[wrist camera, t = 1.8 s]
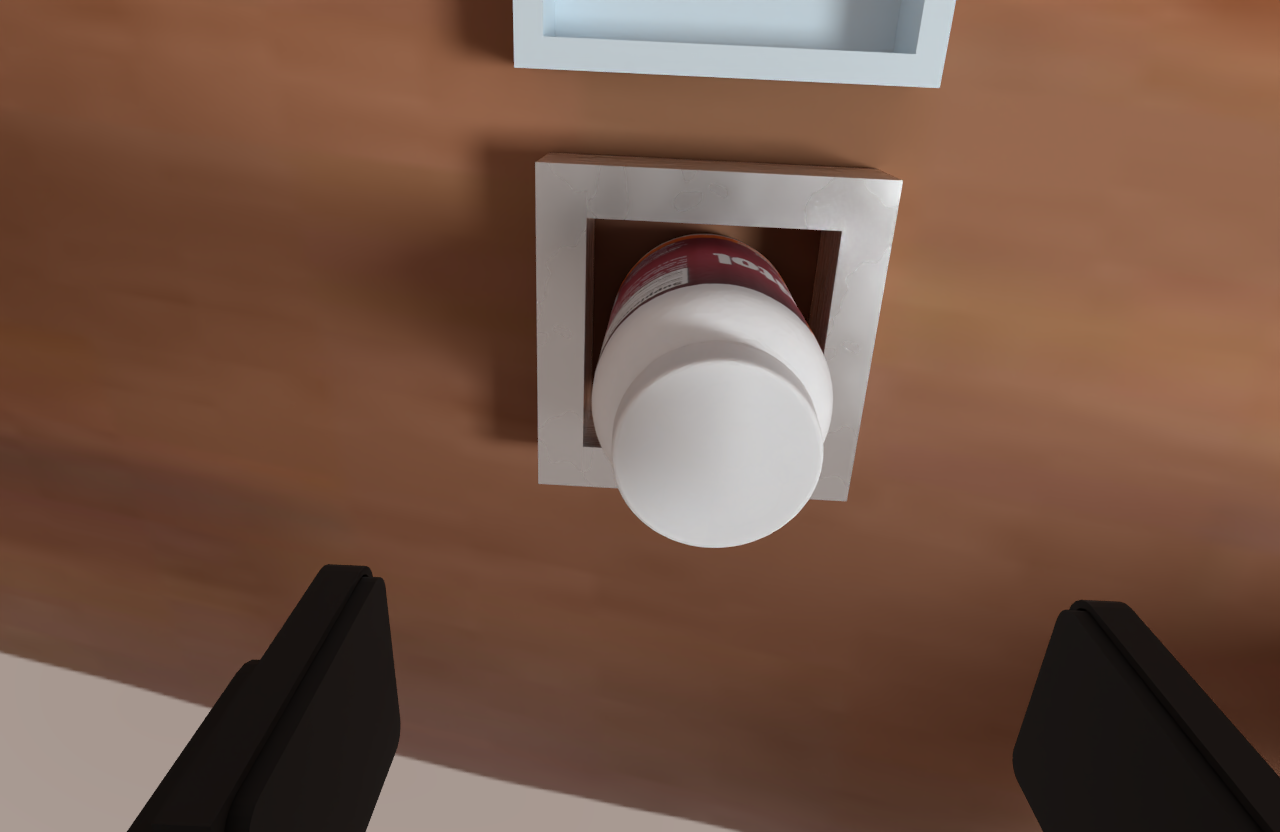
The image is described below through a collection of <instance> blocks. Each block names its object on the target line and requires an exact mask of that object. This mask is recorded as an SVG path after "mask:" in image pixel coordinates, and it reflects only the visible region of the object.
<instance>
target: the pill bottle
mask: <svg viewBox="0 0 1280 832" xmlns="http://www.w3.org/2000/svg"><path fill="white" fill-rule="evenodd" d="M832 409H833V387H832V381H831V376H830V371H829V368H828V365H827V362H826V359H825V357H824V355H823V352H822V350H821V348H820V346H819V344H818V342H817V340H816V338H815V336H814V334H813V332H812V331H811V329H810V328H809V326H808V324H807V322H806V320H805V319H804V317H803V315H802V313H801V312H800V310H799V309H798V307H797V305H796V303H795V301H794V300H793V298H792V296H791V294H790V292H789V290H788V288H787V286H786V284H785V283H784V281H783V279H782V277H781V276H780V274H779V273H778V271H777V270H776V269H775V268H774V266H773V265H772V264H771V263H770V262H769V260H767V259H766V258H765V257H764V256H763V255H762V254H761V253H759V252H758V251H756V250H755V249H753V248H752V247H750V246H748V245H747V244H745V243H743V242H741V241H738V240H736V239H733V238H730V237H727V236H723V235H716V234H691V235H685V236H681V237H677V238H674V239H672V240H669V241H667V242H665V243H662V244H660V245H659V246H657V247H655V248H654V249H652V250H651V251H649V252H648V253H647V254H645V255H644V256H643V257H642V258H641V259H640V260H639V261H638V262H637V263H636V264H635V265H634V266H633V267H632V269H631V270H630V271H629V273H628V274H627V276H626V277H625V279H624V280H623V282H622V284H621V286H620V288H619V290H618V293H617V295H616V298H615V301H614V305H613V308H612V312H611V316H610V320H609V324H608V327H607V331H606V334H605V338H604V342H603V346H602V349H601V353H600V357H599V360H598V364H597V367H596V371H595V375H594V380H593V388H592V415H593V422H594V426H595V431H596V434H597V437H598V440H599V442H600V445H601V447H602V449H603V451H604V453H605V455H606V457H607V458H608V460H609V461H610V463H611V465H612V469H613V474H614V478H615V481H616V484H617V487H618V489H619V491H620V493H621V495H622V497H623V499H624V500H625V502H626V504H627V505H628V507H629V508H630V509H631V510H632V512H633V513H634V514H635V515H636V516H637V517H638V518H639V519H640V520H641V521H642V522H643V523H645V524H646V525H647V526H648V527H650V528H651V529H653V530H654V531H656V532H657V533H659V534H661V535H663V536H665V537H667V538H669V539H671V540H674V541H677V542H680V543H683V544H687V545H691V546H697V547H707V548H723V547H733V546H738V545H743V544H746V543H750V542H753V541H756V540H758V539H761V538H763V537H765V536H767V535H769V534H771V533H773V532H775V531H776V530H778V529H780V528H781V527H782V526H784V525H785V524H786V523H788V522H789V521H790V520H791V519H792V518H794V517H795V516H796V515H797V514H798V513H799V511H800V510H801V509H802V508H803V507H804V505H805V504H806V503H807V501H808V500H809V498H810V497H811V495H812V493H813V491H814V489H815V487H816V485H817V482H818V480H819V477H820V473H821V469H822V463H823V443H824V441H825V438H826V436H827V433H828V430H829V426H830V422H831V417H832Z"/></svg>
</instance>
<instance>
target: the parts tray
mask: <svg viewBox="0 0 1280 832" xmlns="http://www.w3.org/2000/svg"><path fill="white" fill-rule="evenodd" d="M955 3H956V0H513V33H514V67H516V68H537V69H557V70H578V71H598V72H619V73H640V74H660V75H681V76H702V77H722V78H743V79H764V80H784V81H805V82H825V83H846V84H867V85H887V86H908V87H929V88H940V84H941V78H942V73H943V68H944V62H945V57H946V51H947V46H948V41H949V35H950V30H951V24H952V19H953V14H954V8H955Z"/></svg>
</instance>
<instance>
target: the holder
mask: <svg viewBox="0 0 1280 832" xmlns="http://www.w3.org/2000/svg"><path fill="white" fill-rule="evenodd" d="M902 183H903V180H901V179H898V178H896V177H894V176H892V175H890V174H887V173H885V172H883V171H881V170H879V169H871V168H851V167H831V166H811V165H791V164H771V163H751V162H731V161H711V160H691V159H672V158H652V157H632V156H612V155H592V154H572V153H552V152H550V153H548V154H547V155H545V156H544V157H542V158H541V159H539V160H538V161H536V162H535V197H536V295H537V393H538V484H552V485H570V486H587V487H605V488H618V487H617V484H616V481H615V478H614V474H613V469H612V465H611V463H610V461H609V460H608V458H607V457H606V455H605V453H604V451H603V449H602V447H601V445H600V442H599V440H598V437H597V434H596V431H595V426H594V422H593V415H592V411H591V403H592V354H593V306H594V257H595V218H597V219H616V220H636V221H655V222H675V223H694V224H714V225H733V226H752V227H772V228H791V229H811V230H821V237H820V245H819V252H818V259H817V266H816V274H815V281H814V288H813V295H812V303H811V310H810V317H809V324H808V326H809V328H810V329H811V331H812V332H813V334H814V336H815V338H816V340H817V342H818V344H819V346H820V348H821V350H822V352H823V355H824V357H825V359H826V362H827V365H828V368H829V371H830V376H831V381H832V387H833V409H832V417H831V422H830V426H829V430H828V433H827V436H826V438H825V441H824V443H823V463H822V469H821V473H820V477H819V480H818V482H817V485H816V487H815V489H814V491H813V493H812V495H811V497H810V498H809V499H815V500H833V501H847V497H848V491H849V485H850V480H851V474H852V468H853V462H854V457H855V451H856V445H857V440H858V434H859V428H860V423H861V417H862V411H863V405H864V400H865V394H866V388H867V383H868V377H869V371H870V366H871V360H872V354H873V348H874V343H875V337H876V331H877V326H878V320H879V314H880V309H881V303H882V297H883V291H884V286H885V280H886V274H887V269H888V263H889V257H890V252H891V246H892V240H893V234H894V229H895V223H896V217H897V212H898V206H899V200H900V195H901V189H902Z"/></svg>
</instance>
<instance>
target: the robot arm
mask: <svg viewBox="0 0 1280 832" xmlns="http://www.w3.org/2000/svg"><path fill="white" fill-rule="evenodd" d="M399 736H400V713H399V705H398V696H397V687H396V678H395V669H394V660H393V651H392V642H391V633H390V624H389V615H388V606H387V597H386V588H385V583H384V580H383V579H382V578H381V577H373V576H372V572H371V570H370V568H369V567H367V566H353V565H332V564H328V565H325V566H323V568H322V569H321V570H320V571H319V573H318V574H317V576H316V577H315V579H314V580H313V582H312V583H311V585H310V586H309V588H308V589H307V591H306V592H305V594H304V595H303V597H302V598H301V600H300V601H299V603H298V604H297V606H296V607H295V609H294V610H293V612H292V613H291V615H290V616H289V618H288V619H287V621H286V622H285V624H284V625H283V627H282V628H281V630H280V631H279V633H278V634H277V636H276V637H275V639H274V640H273V642H272V643H271V645H270V646H269V648H268V649H267V651H266V652H265V654H264V655H263V657H262V658H261V660H251V661H249V662H247V663H245V664H244V665H243V666H242V667H241V669H240V670H239V671H238V672H237V673H236V675H235V676H234V677H233V679H232V680H231V682H230V683H229V685H228V686H227V688H226V689H225V690H224V692H223V693H222V695H221V696H220V698H219V699H218V701H217V702H216V704H215V705H214V706H213V708H212V709H211V711H210V712H209V714H208V715H207V717H206V718H205V720H204V721H203V722H202V724H201V725H200V727H199V728H198V730H197V731H196V733H195V734H194V735H193V737H192V738H191V740H190V741H189V743H188V744H187V746H186V747H185V748H184V750H183V751H182V753H181V754H180V756H179V757H178V759H177V760H176V761H175V763H174V765H173V766H172V767H171V769H170V770H169V772H168V773H167V775H166V776H165V777H164V779H163V780H162V782H161V783H160V785H159V786H158V788H157V789H156V791H155V792H154V793H153V795H152V797H151V798H150V799H149V801H148V802H147V803H146V805H145V807H144V808H143V809H142V811H141V812H140V814H139V815H138V817H137V818H136V819H135V821H134V822H133V824H132V825H131V827H130V828H129V830H128V831H127V832H366V829H367V826H368V824H369V821H370V818H371V816H372V813H373V810H374V808H375V805H376V803H377V800H378V797H379V795H380V792H381V789H382V787H383V784H384V781H385V779H386V776H387V774H388V771H389V768H390V766H391V763H392V760H393V757H394V755H395V752H396V749H397V746H398V742H399ZM1013 768H1014V772H1015V776H1016V778H1017V781H1018V783H1019V785H1020V787H1021V789H1022V791H1023V793H1024V795H1025V797H1026V799H1027V801H1028V803H1029V805H1030V806H1031V808H1032V810H1033V812H1034V814H1035V816H1036V818H1037V820H1038V822H1039V824H1040V826H1041V828H1042V830H1043V832H1280V777H1279V776H1278V775H1277V774H1276V773H1275V772H1274V770H1273V769H1272V768H1271V767H1270V766H1269V765H1268V764H1267V762H1266V761H1265V760H1264V759H1263V758H1262V757H1261V756H1260V754H1259V753H1258V752H1257V751H1256V750H1255V749H1254V748H1253V746H1252V745H1251V744H1250V743H1249V742H1248V741H1247V740H1246V739H1245V737H1244V736H1243V735H1242V734H1241V733H1240V732H1239V731H1238V729H1237V728H1236V727H1235V726H1234V725H1233V724H1232V723H1231V721H1230V720H1229V719H1228V718H1227V717H1226V716H1225V715H1224V713H1223V712H1222V711H1221V710H1220V709H1219V708H1218V707H1217V705H1216V704H1215V703H1214V702H1213V701H1212V700H1211V699H1210V698H1209V696H1208V695H1207V694H1206V693H1205V692H1204V691H1203V690H1202V688H1201V687H1200V686H1199V685H1198V684H1197V683H1196V682H1195V680H1194V679H1193V678H1192V677H1191V676H1190V675H1189V674H1188V672H1187V671H1186V670H1185V669H1184V668H1183V667H1182V666H1181V664H1180V663H1179V662H1178V661H1177V660H1176V659H1175V658H1174V657H1173V655H1172V654H1171V653H1170V652H1169V651H1168V650H1167V649H1166V647H1165V646H1164V645H1163V644H1162V643H1161V642H1160V641H1159V639H1158V638H1157V637H1156V636H1155V635H1154V634H1153V633H1152V631H1151V630H1150V629H1149V628H1148V627H1147V626H1146V625H1145V623H1144V622H1143V621H1142V620H1141V619H1140V618H1139V617H1138V616H1137V614H1136V613H1135V612H1134V611H1133V610H1132V609H1131V608H1130V607H1129V606H1128V605H1127V604H1125V603H1122V602H1114V601H1093V600H1079V601H1075V602H1074V603H1073V604H1072V605H1071V607H1070V609H1069V610H1064V611H1062V612H1061V613H1060V614H1059V616H1058V618H1057V621H1056V624H1055V627H1054V630H1053V633H1052V636H1051V639H1050V642H1049V645H1048V648H1047V651H1046V654H1045V657H1044V660H1043V663H1042V666H1041V669H1040V672H1039V675H1038V678H1037V681H1036V684H1035V687H1034V690H1033V693H1032V696H1031V699H1030V702H1029V705H1028V708H1027V711H1026V714H1025V717H1024V720H1023V723H1022V726H1021V729H1020V732H1019V735H1018V738H1017V741H1016V744H1015V747H1014V751H1013Z"/></svg>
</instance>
